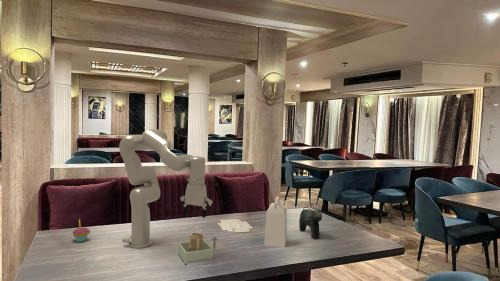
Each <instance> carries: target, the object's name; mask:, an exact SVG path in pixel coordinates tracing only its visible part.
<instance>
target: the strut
mask: <svg viewBox="0 0 500 281" xmlns="http://www.w3.org/2000/svg"><path fill="white" fill-rule="evenodd" d="M188 238H189V239H188V242H189V251H188V252H191V251H198V250H204V249H203V240H204V234H203V233H199V232H193V233H192V234H190V235H189V237H188Z"/></svg>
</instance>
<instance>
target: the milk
mask: <svg viewBox="0 0 500 281" xmlns="http://www.w3.org/2000/svg"><path fill="white" fill-rule="evenodd" d="M268 206H269V207H268V209H267V210H266V215H265V229H264V243H263V244H264V245H263V246H268V247H269V246H270V247H279V248H280V247H281V248H285V247H286V243H287V239H288V238H287V237H288V229H287V228H288V227H287V225H288V224H287V222H288V221H287V220H288V219H287V217H288V216H287V215H288V214H287V213H288V212H287V208H286V207H285V205H284V204H282V202H281V201H280V196H276V197H275V200H274V202H271V203H270V205H268Z"/></svg>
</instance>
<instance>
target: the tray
mask: <svg viewBox="0 0 500 281" xmlns="http://www.w3.org/2000/svg"><path fill="white" fill-rule="evenodd" d="M219 221H220V222H216V223H217V225H218V226H219V228H220V230H221V231H222V232H224V231H225V230H227V232H234V233H247V232H250V231H251V229H253V228H254V227H253V226H251V225H250V223H248V222H247V221H245V220H244V221H241V220H240V219H239V218H234V219H219ZM233 229H235V230H233Z"/></svg>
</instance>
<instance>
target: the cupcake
mask: <svg viewBox="0 0 500 281" xmlns="http://www.w3.org/2000/svg"><path fill="white" fill-rule="evenodd" d="M78 226H79V227H77V228H75V229H73V231H72V236H73V237H74V238H75V241H76V242H79V243H81V242H82V243H83V242H85V241H86V240H87V238H88V235H90V233H91V230H90V229H89V228H87V227H82V224H81V219H78Z"/></svg>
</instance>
